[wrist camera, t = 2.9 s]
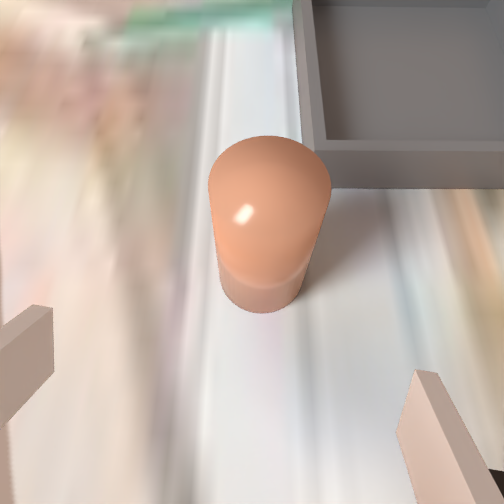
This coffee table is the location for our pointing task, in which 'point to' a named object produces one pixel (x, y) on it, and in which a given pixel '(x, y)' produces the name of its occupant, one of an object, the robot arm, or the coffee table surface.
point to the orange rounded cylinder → (266, 219)
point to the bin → (403, 91)
